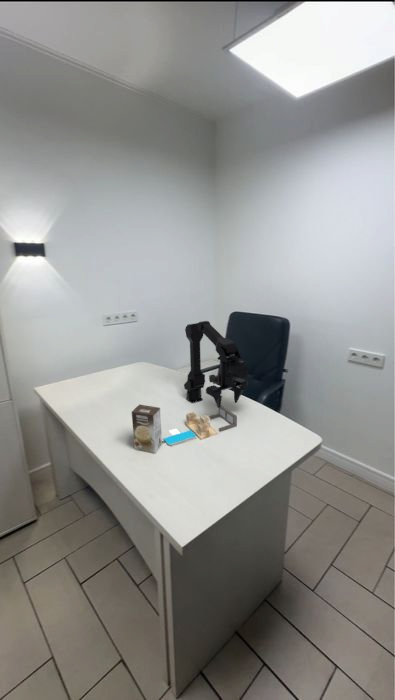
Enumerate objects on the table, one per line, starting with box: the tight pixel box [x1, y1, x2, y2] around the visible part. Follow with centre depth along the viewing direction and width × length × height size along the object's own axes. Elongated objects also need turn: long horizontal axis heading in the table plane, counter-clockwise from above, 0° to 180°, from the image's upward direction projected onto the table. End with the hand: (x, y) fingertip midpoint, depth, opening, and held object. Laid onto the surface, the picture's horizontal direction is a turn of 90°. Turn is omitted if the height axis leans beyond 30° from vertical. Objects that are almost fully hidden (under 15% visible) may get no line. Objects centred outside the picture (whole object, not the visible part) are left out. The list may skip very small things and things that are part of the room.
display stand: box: [184, 411, 218, 440], centre depth 130 cm, size 8×14×5 cm, turn 28°
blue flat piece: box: [162, 428, 198, 447], centre depth 125 cm, size 20×12×2 cm, turn 118°
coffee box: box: [131, 403, 163, 454], centre depth 116 cm, size 9×6×16 cm
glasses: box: [207, 404, 238, 433], centre depth 134 cm, size 8×12×5 cm
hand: (227, 405), depth 134 cm, fingers open, 9 cm apart
